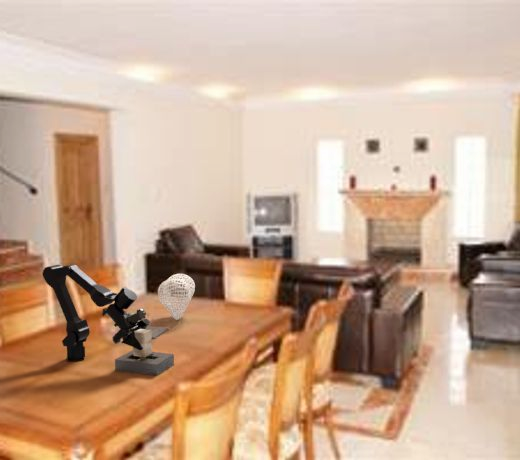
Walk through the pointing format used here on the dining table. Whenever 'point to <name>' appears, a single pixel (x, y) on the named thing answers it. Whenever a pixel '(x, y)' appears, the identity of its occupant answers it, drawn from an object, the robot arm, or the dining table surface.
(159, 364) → the keyhole plate
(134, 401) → the dining table surface
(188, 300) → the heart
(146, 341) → the keyhole post
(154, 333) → the play button award
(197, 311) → the dining table surface
